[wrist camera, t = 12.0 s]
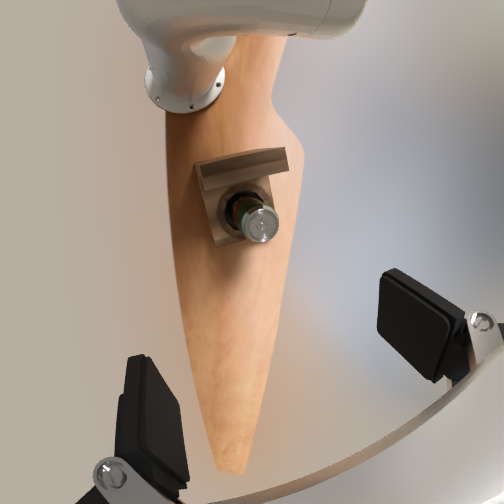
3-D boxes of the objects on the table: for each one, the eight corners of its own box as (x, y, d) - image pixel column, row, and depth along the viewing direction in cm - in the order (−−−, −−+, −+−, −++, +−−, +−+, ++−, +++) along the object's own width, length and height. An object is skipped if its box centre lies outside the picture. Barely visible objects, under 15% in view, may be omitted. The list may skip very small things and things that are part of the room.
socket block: (194, 163, 40) (199, 165, 30) (257, 149, 42) (284, 147, 31) (214, 242, 46) (226, 270, 35) (272, 225, 47) (301, 247, 37)
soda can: (236, 228, 46) (255, 252, 35) (220, 203, 43) (234, 220, 33) (261, 211, 46) (288, 230, 35) (246, 186, 44) (269, 197, 33)
